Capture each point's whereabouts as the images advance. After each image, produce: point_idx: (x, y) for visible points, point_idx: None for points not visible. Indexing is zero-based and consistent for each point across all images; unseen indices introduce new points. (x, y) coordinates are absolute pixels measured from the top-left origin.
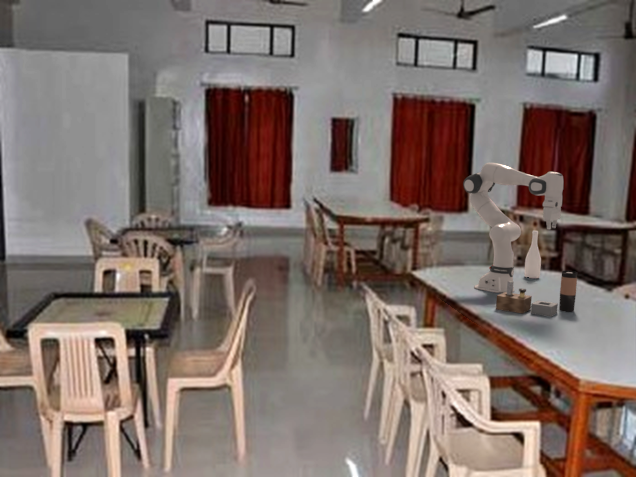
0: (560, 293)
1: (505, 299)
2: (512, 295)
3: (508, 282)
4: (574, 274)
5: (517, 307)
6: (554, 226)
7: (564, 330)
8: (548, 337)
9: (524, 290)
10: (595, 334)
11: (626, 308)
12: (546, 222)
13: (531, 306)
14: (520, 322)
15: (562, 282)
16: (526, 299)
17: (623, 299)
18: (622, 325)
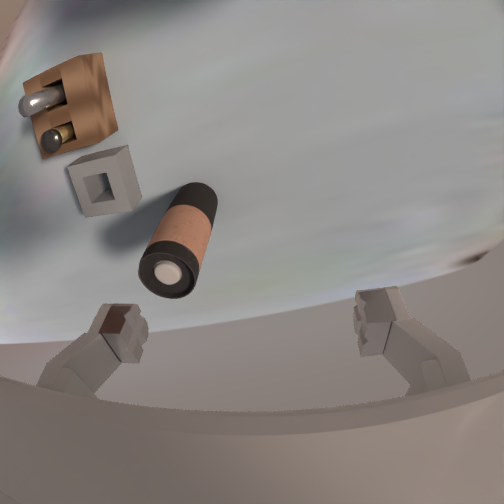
0: (167, 210)
1: None
2: (57, 103)
3: (19, 106)
4: (158, 292)
5: None
6: (361, 329)
7: (45, 262)
8: (3, 259)
9: (47, 152)
10: (73, 301)
11: (349, 291)
12: (45, 369)
13: (71, 164)
14: (13, 187)
15: (151, 238)
16: (61, 152)
17: (452, 260)
18: (170, 319)
